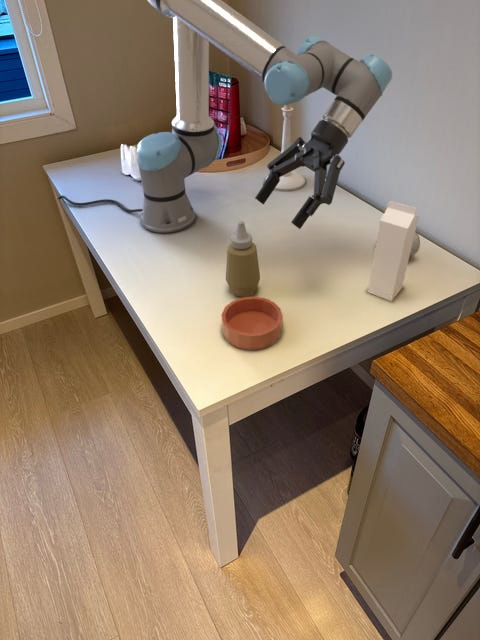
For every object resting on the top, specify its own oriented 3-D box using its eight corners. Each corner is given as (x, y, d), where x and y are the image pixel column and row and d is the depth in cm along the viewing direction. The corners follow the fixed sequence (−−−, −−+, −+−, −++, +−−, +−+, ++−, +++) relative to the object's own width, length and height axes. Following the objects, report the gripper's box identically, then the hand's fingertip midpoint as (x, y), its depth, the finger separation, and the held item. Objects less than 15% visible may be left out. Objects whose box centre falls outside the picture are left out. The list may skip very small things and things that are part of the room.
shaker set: (149, 180, 161) (144, 147, 154) (138, 184, 159) (133, 151, 152) (132, 169, 169) (126, 137, 161) (121, 173, 167) (115, 140, 159)
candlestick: (278, 170, 165) (281, 74, 145) (312, 179, 159) (319, 80, 139) (257, 184, 157) (257, 85, 137) (291, 194, 151) (296, 91, 131)
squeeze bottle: (257, 302, 111) (256, 233, 99) (222, 298, 112) (218, 230, 101) (262, 281, 117) (263, 214, 105) (230, 278, 118) (226, 211, 107)
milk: (378, 280, 116) (394, 194, 102) (402, 288, 113) (422, 202, 99) (366, 292, 112) (382, 206, 98) (391, 301, 110) (411, 214, 95)
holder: (210, 333, 103) (209, 319, 101) (246, 303, 111) (246, 289, 108) (258, 358, 97) (258, 344, 95) (292, 324, 105) (293, 310, 102)
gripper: (385, 157, 98) (321, 244, 101) (307, 123, 114) (255, 199, 118) (369, 136, 92) (303, 229, 96) (290, 103, 108) (235, 184, 112)
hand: (276, 213), depth 107 cm, fingers open, 13 cm apart
